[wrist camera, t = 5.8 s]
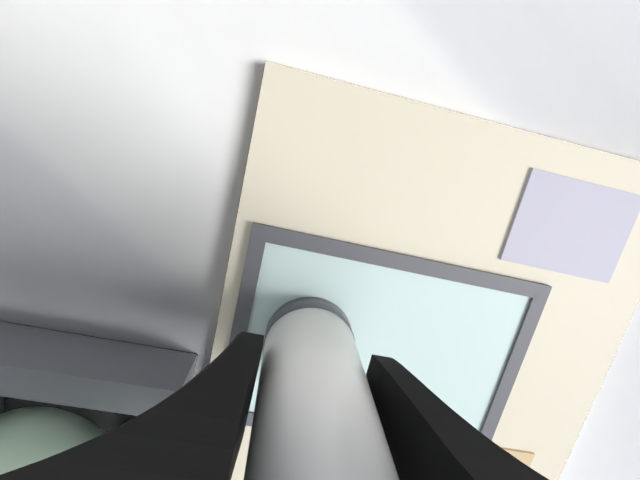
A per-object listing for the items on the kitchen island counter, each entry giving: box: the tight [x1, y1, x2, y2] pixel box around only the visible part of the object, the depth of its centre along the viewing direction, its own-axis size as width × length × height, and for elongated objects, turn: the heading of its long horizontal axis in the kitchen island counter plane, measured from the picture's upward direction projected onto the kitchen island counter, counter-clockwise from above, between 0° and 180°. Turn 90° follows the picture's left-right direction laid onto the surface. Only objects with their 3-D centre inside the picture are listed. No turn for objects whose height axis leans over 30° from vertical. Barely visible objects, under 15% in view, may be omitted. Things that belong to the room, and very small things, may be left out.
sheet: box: [210, 61, 640, 480], centre depth 13 cm, size 16×14×1 cm
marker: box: [244, 297, 399, 480], centre depth 8 cm, size 3×3×8 cm
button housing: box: [0, 322, 197, 416], centre depth 12 cm, size 7×7×2 cm
